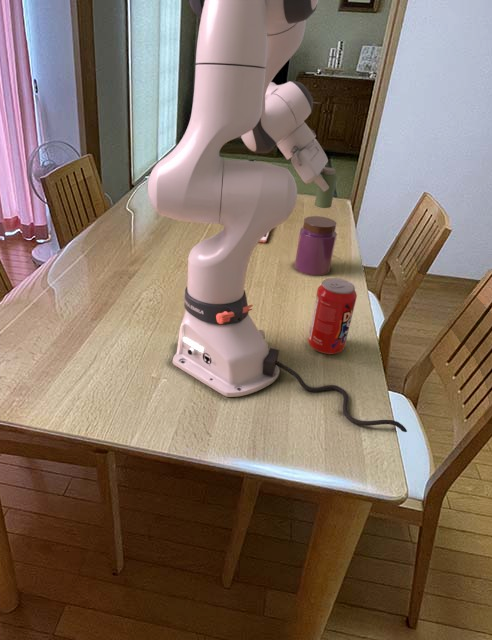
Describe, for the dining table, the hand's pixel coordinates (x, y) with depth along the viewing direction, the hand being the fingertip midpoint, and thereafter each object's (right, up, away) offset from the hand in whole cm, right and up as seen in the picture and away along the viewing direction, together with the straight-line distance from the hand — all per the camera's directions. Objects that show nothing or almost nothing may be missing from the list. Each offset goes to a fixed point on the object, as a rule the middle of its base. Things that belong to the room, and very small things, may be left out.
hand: (328, 186), depth 128 cm
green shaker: (-1, -4, +3) cm, 5 cm away
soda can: (-6, -41, -22) cm, 47 cm away
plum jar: (-2, -20, +12) cm, 24 cm away
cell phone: (-15, -5, +35) cm, 39 cm away
